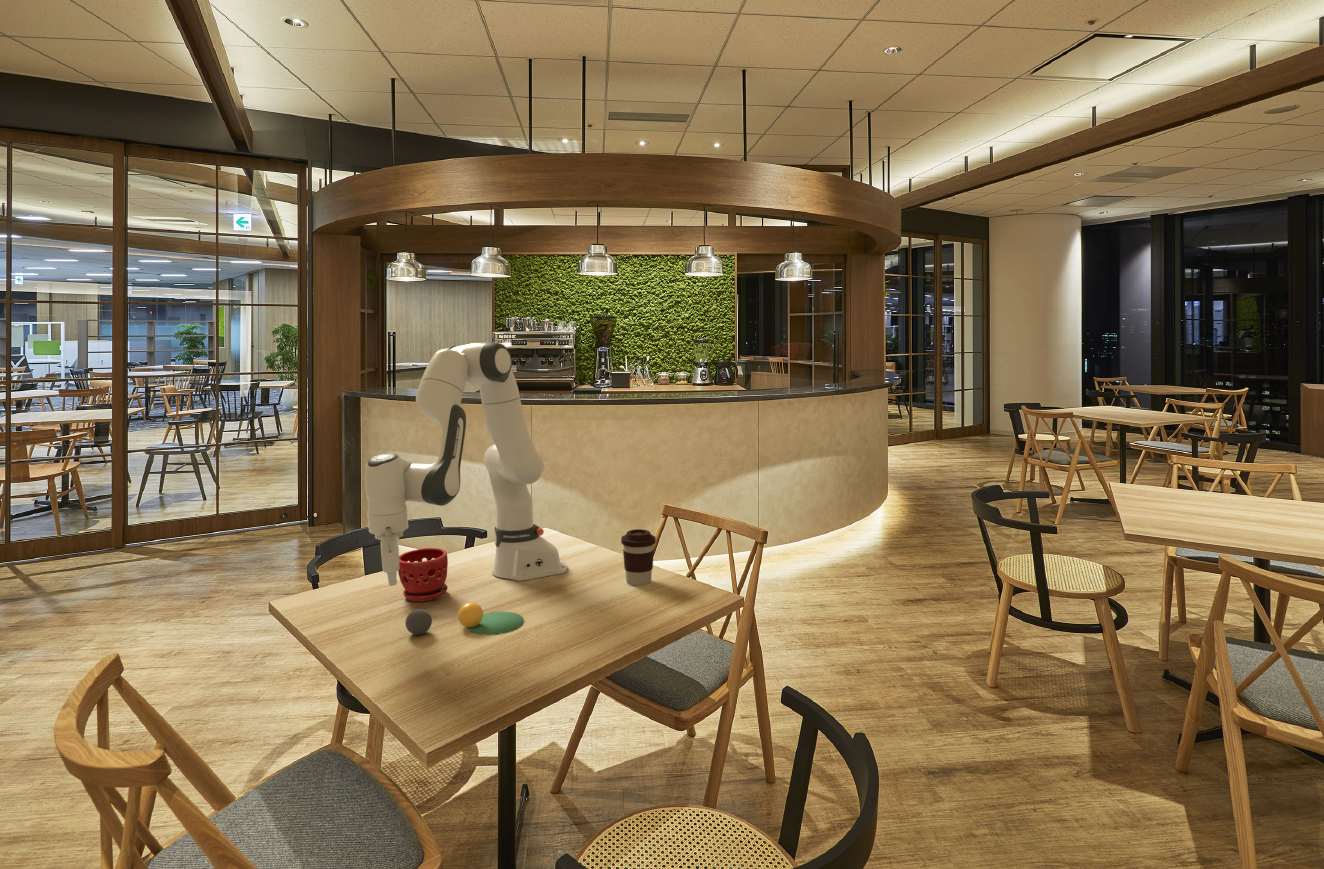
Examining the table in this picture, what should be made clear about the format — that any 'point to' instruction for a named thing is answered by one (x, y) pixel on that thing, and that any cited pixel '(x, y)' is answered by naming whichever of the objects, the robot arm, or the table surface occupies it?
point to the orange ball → (470, 615)
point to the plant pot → (423, 574)
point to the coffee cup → (638, 556)
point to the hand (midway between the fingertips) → (392, 578)
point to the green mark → (498, 623)
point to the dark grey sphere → (418, 621)
